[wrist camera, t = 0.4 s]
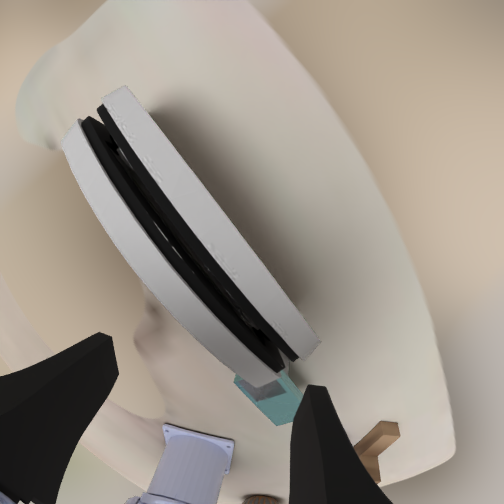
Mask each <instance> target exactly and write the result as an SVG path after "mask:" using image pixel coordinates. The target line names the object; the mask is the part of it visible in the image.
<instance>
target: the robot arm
mask: <svg viewBox="0 0 504 504" xmlns="http://www.w3.org/2000/svg"><path fill="white" fill-rule="evenodd" d="M118 375H119V371H118V366H117V361H116V357H115V351H114V346H113V341H112V337H111V336H108V335H106V334H103V333H100V332H98V333H96V334H94V335H92V336H90V337H88V338H86V339H84V340H82V341H81V342H79V343H77V344H75V345H73V346H71V347H69V348H67V349H66V350H64V351H62V352H60V353H58V354H56V355H54V356H52V357H50V358H48V359H45V360H43V361H41V362H39V363H37V364H35V365H32V366H30V367H28V368H25V369H22V370H20V371H17V372H14V373H11V374H8V375H4V376H0V504H18V502H19V501H20V500H21V501H22V502H23V503H24V504H29V503H30V501H32V502H33V503H35V504H55V503H56V499H57V496H58V491H59V488H60V485H61V482H62V479H63V476H64V473H65V471H66V468H67V465H68V463H69V461H70V458H71V456H72V454H73V452H74V450H75V448H76V445H77V443H78V441H79V440H80V438H81V436H82V434H83V433H84V431H85V430H86V428H87V427H88V425H89V424H90V422H91V421H92V419H93V418H94V416H95V415H96V413H97V412H98V410H99V409H100V407H101V406H102V404H103V403H104V402H105V400H106V399H107V397H108V395H109V394H110V392H111V390H112V388H113V386H114V383H115V382H116V380H117V377H118ZM163 432H164V437H165V442H166V447H165V450H164V452H163V455H162V457H161V459H160V462H159V464H158V467H157V469H156V471H155V474H154V476H153V478H152V481H151V483H150V486H149V488H148V490H147V493H145V492H143V494H142V496H141V498H140V497H138V496H134V497H132V498H129V499H128V500H127V501H126V502H125V504H217V500H218V496H219V492H220V488H221V484H222V480H223V476H224V474H229V471H230V465H231V460H232V454H233V448H234V442H233V441H231V440H227V439H222V438H218V437H213V436H209V435H205V434H201V433H197V432H193V431H189V430H185V429H182V428H178V427H175V426H172V425H168V424H164V425H163ZM289 504H393V503H392V502H391V501H390V500H389V499H388V498H387V496H386V495H385V494H384V493H383V492H382V490H381V489H380V488H379V486H378V485H377V484H376V483H375V481H374V480H373V478H372V477H371V475H370V474H369V473H368V471H367V470H366V468H365V466H364V465H363V463H362V462H361V460H360V458H359V456H358V455H357V453H356V451H355V450H354V448H353V446H352V444H351V442H350V440H349V438H348V436H347V434H346V432H345V430H344V428H343V426H342V424H341V422H340V419H339V417H338V415H337V413H336V410H335V408H334V405H333V403H332V401H331V398H330V395H329V393H328V390H327V388H326V387H325V386H316V385H309V384H308V386H307V388H306V391H305V393H304V395H303V398H302V400H301V402H300V405H299V407H298V409H297V412H296V414H295V416H294V418H293V426H292V434H291V442H290V495H289Z"/></svg>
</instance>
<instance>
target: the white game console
mask: <svg viewBox="0 0 504 504" xmlns="http://www.w3.org/2000/svg"><path fill="white" fill-rule="evenodd" d="M101 100H102V102H103V104H102V105H101V106H100V107H98V108H97V112H98V114H99V116H100V118H101V119H102V121H103V123H104V124H105V125H104V124H102V123H100V122H99V121H97V120H95V119H94V118H92V117H90V116H88V117H87V118H86V119H85V120H82V119H77V120H76V121H75V123H74V124H73V125H72V127H71V128H70V129H69V131H68V132H67V133H66V135H65V136H64V137H63V139H62V140H61V145H62V148H63V151H64V153H65V156H66V158H67V160H68V162H69V165H70V167H71V170H72V172H73V174H74V176H75V178H76V180H77V182H78V184H79V186H80V188H81V190H82V192H83V194H84V196H85V197H86V199H87V201H88V203H89V204H90V206H91V208H92V209H93V211H94V213H95V214H96V216H97V218H98V219H99V221H100V222H101V224H102V225H103V227H104V229H105V230H106V232H107V233H108V235H109V236H110V238H111V239H112V241H113V242H114V244H115V245H116V247H117V248H118V250H119V251H120V252H121V254H122V255H123V256H124V258H125V259H126V261H127V262H128V263H129V265H130V266H131V267H132V269H133V270H134V271H135V272H136V274H137V275H138V276H139V277H140V279H141V280H142V281H143V282H144V283H145V285H146V286H147V287H148V288H149V289H150V291H151V292H152V293H153V294H154V295H155V296H156V298H157V299H158V300H159V301H160V302H161V303H162V304H163V306H164V307H165V308H166V309H167V310H168V311H169V312H170V313H171V314H172V316H173V317H174V318H175V319H176V320H177V321H178V322H179V323H180V324H181V325H182V326H183V327H184V328H185V329H186V330H187V331H188V332H189V333H190V334H191V335H192V336H193V337H194V338H195V339H196V340H198V341H199V342H200V343H201V344H202V345H203V346H204V347H205V348H206V349H207V350H208V351H209V352H210V353H212V354H213V355H214V356H215V357H216V358H217V359H218V360H219V361H221V362H222V363H223V364H224V365H226V366H227V367H228V368H230V369H231V370H232V371H233V372H235V373H236V374H237V375H239V376H240V377H241V378H243V379H244V380H246V381H247V382H248V383H250V384H251V385H253V386H254V387H261V386H263V385H265V384H268V383H270V382H272V381H274V380H276V379H279V378H281V372H280V371H281V370H283V369H284V368H285V364H284V362H283V359H282V357H281V354H280V352H279V349H280V350H281V351H282V352H283V353H284V354H285V355H286V356H287V357H288V358H289V359H290V360H291V361H292V362H294V361H295V360H296V359H298V358H299V357H300V358H301V359H302V360H303V361H305V359H306V358H307V357H308V356H309V355H310V354H311V353H312V352H313V350H314V349H315V348H316V347H317V346H318V345H319V344H320V342H321V341H320V339H319V338H318V337H317V335H316V334H315V332H314V331H313V330H312V328H311V327H310V326H309V324H308V323H307V322H306V320H305V319H304V318H303V316H302V315H301V314H300V312H299V311H298V310H297V308H296V307H295V306H294V304H293V303H292V302H291V300H290V299H289V298H288V296H287V295H286V294H285V292H284V291H283V290H282V288H281V287H280V285H279V284H278V283H277V281H276V280H275V279H274V277H273V276H272V275H271V273H270V272H269V271H268V269H267V268H266V267H265V265H264V264H263V263H262V262H261V260H260V259H259V258H258V256H257V255H256V254H255V252H254V251H253V250H252V248H251V247H250V246H249V244H248V243H247V242H246V240H245V239H244V238H243V236H242V235H241V234H240V233H239V231H238V230H237V229H236V227H235V226H234V225H233V223H232V222H231V221H230V219H229V218H228V217H227V215H226V214H225V213H224V211H223V210H222V209H221V208H220V206H219V205H218V204H217V202H216V201H215V200H214V198H213V197H212V196H211V194H210V193H209V192H208V190H207V189H206V188H205V186H204V185H203V184H202V183H201V181H200V180H199V179H198V177H197V176H196V175H195V173H194V172H193V171H192V170H191V168H190V167H189V166H188V164H187V163H186V162H185V161H184V159H183V158H182V157H181V155H180V154H179V153H178V151H177V150H176V149H175V148H174V146H173V145H172V144H171V142H170V141H169V140H168V139H167V137H166V136H165V135H164V133H163V132H162V131H161V129H160V128H159V127H158V126H157V124H156V123H155V122H154V120H153V119H152V118H151V117H150V115H149V114H148V113H147V111H146V110H145V109H144V108H143V106H142V105H141V104H140V102H139V101H138V100H137V99H136V97H135V96H134V95H133V93H132V92H131V91H130V90H129V88H128V87H127V86H126V85H125V86H123V87H121V88H119V89H117V90H115V91H113V92H111V93H110V94H108V95H106V96H104V97H102V98H101ZM278 348H279V349H278Z"/></svg>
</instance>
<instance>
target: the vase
mask: <svg viewBox="0 0 504 504" xmlns="http://www.w3.org/2000/svg"><path fill="white" fill-rule="evenodd" d="M242 504H279V503H278V502H277V501H276V500H275V499H274V498H271V497H267V496H252V497H250V498H248V499H247V500H245V501H244V502H243V503H242Z"/></svg>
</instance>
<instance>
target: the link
mask: <svg viewBox="0 0 504 504" xmlns="http://www.w3.org/2000/svg"><path fill="white" fill-rule="evenodd" d="M399 437H400V432H399V428H398V423H393V422H384V421H380V422H379V423H378V424H377V425H376V426H375V427H374V428H373V429H372V430H371V431H370V432H369V433H368V434H367V435H366V436H365V437H364V438H363V439H362V440H361V441H360V442H359V443H357V444H356V445H355V446H354V447H353V448H354V450H355V451H356V453H357V455H358V456H359V458H360V460H361V462H362V463H363V465H364V466H365V468H366V470H367V471H368V473H369V474H370V475H371V477H372V478H373V480H374V481H375V483H376V484H378V483H379V482H381V479H380V471H379V463H378V455H379V454H381V453H382V452H383V451H384V450H385V449H387V448H388V447H389V446H390V445H391V444H392V443H394V442H395V441H396V440H397V439H398V438H399Z"/></svg>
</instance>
